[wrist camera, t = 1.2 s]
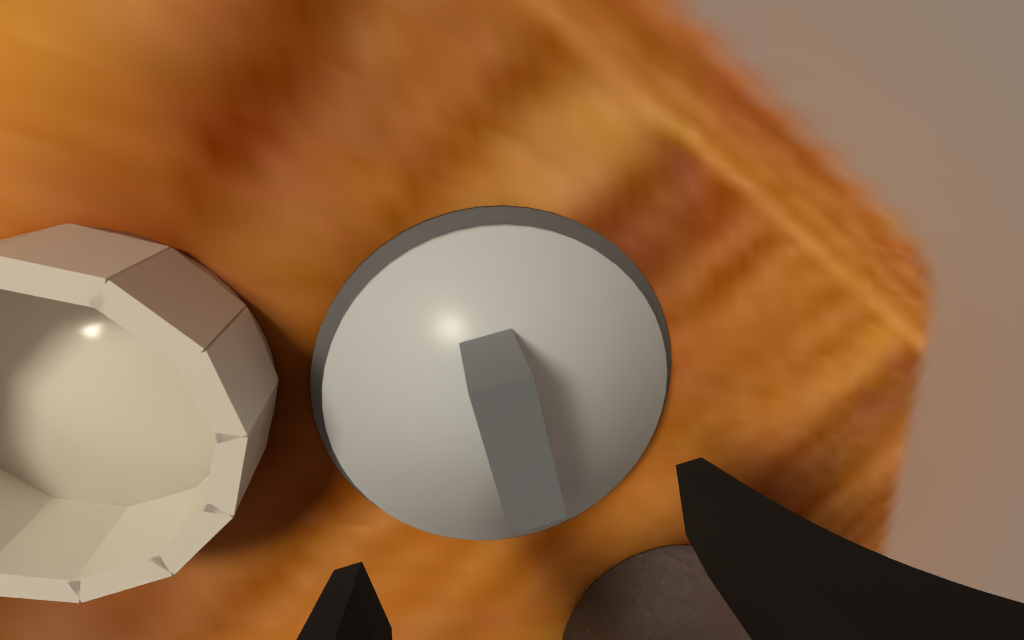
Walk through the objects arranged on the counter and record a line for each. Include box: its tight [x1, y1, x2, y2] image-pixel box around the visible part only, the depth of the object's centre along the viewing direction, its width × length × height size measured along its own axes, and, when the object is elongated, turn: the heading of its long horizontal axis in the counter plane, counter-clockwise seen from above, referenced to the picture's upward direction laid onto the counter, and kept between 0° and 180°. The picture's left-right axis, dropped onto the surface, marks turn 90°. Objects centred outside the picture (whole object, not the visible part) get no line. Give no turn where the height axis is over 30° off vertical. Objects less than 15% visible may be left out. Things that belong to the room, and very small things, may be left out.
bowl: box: [0, 223, 279, 603], centre depth 16 cm, size 10×10×4 cm
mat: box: [310, 205, 671, 507], centre depth 20 cm, size 13×13×1 cm
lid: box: [322, 223, 667, 540], centre depth 18 cm, size 12×12×4 cm
